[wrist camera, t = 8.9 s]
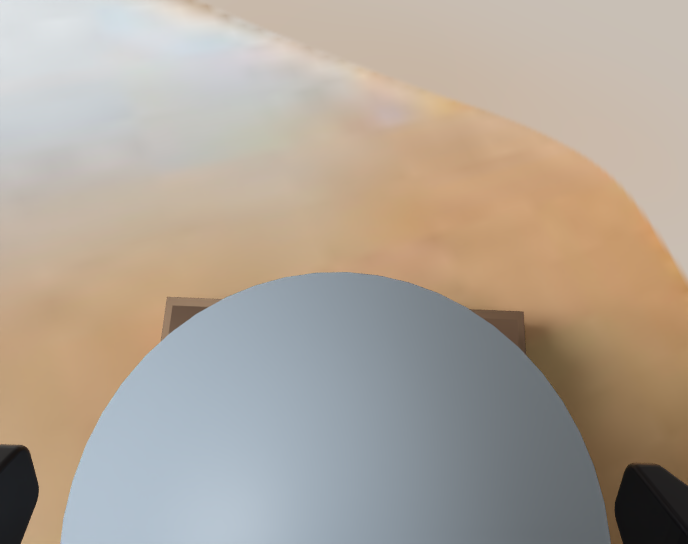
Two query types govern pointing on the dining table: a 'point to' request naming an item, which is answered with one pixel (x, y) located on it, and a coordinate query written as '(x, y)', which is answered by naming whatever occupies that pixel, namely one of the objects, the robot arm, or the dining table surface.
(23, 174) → the dining table surface
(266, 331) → the blue-gray capsule
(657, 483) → the robot arm
